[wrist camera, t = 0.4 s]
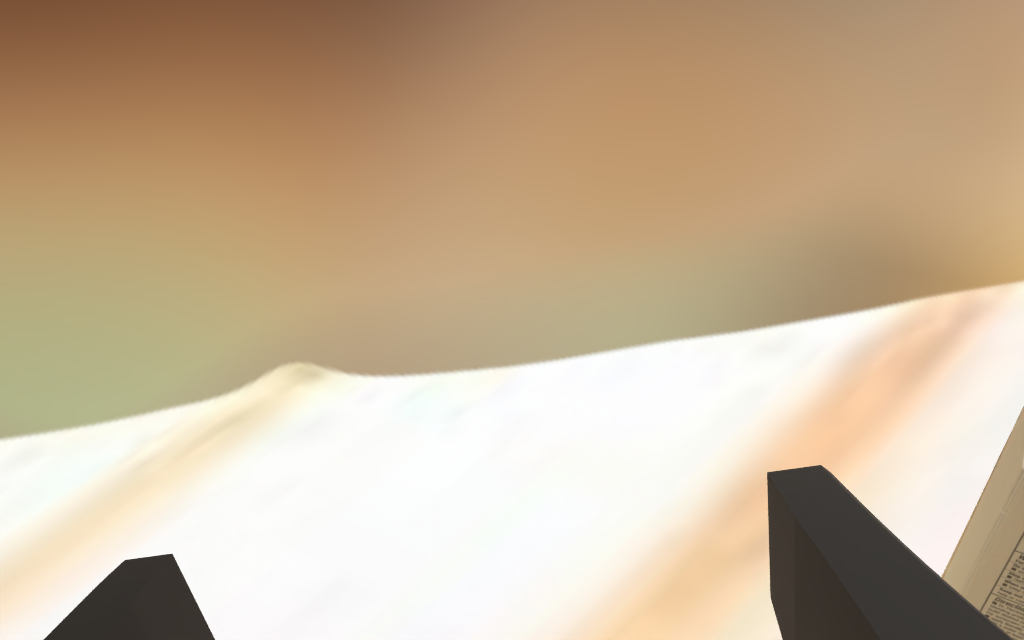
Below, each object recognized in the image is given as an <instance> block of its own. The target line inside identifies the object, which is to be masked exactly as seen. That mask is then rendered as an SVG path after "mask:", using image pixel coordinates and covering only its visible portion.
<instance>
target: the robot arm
mask: <svg viewBox="0 0 1024 640" xmlns="http://www.w3.org/2000/svg"><path fill="white" fill-rule="evenodd" d="M767 480H768V517H769V554H770V591H771V600H772V604H773V607H774V611H775V614H776V618H777V621H778V624H779V628H780V631H781V635H782V638H783V640H1014V639H1013V638H1011V637H1010V636H1009V635H1008V634H1007V633H1005V632H1004V631H1003V630H1002V629H1001V628H999V627H998V626H997V625H996V624H995V623H993V622H992V621H991V620H990V619H989V618H987V617H986V616H985V615H984V614H983V613H981V612H980V611H979V610H978V609H977V608H976V607H974V606H973V605H972V604H971V603H970V602H969V601H967V600H966V599H965V598H964V597H963V596H962V595H961V594H959V593H958V592H957V591H956V590H955V589H954V588H953V587H951V586H950V585H949V584H948V583H947V582H946V581H945V580H943V579H942V578H941V577H940V576H939V575H938V574H937V573H935V572H934V571H933V570H932V569H931V568H930V567H929V566H927V565H926V564H925V563H924V562H923V561H922V560H921V559H920V558H919V557H918V556H917V555H915V554H914V553H913V552H912V551H911V550H910V549H909V548H908V547H907V546H906V545H905V544H904V543H902V542H901V541H900V540H899V539H898V538H897V537H896V536H895V535H894V534H893V533H892V532H891V531H890V530H889V529H888V528H887V527H885V526H884V525H883V524H882V523H881V522H880V521H879V520H878V519H877V518H876V517H875V516H874V515H873V514H872V513H871V512H870V511H869V510H868V509H867V508H866V507H865V506H864V505H863V504H862V503H861V502H860V501H859V500H858V499H857V498H856V497H855V496H854V495H853V494H852V493H851V492H850V491H849V490H848V489H847V488H846V487H845V486H844V485H843V484H842V483H841V482H840V481H839V480H838V479H837V478H836V477H835V476H834V475H833V474H832V473H831V472H829V471H828V470H827V469H825V468H824V467H823V466H821V465H818V466H811V467H804V468H796V469H789V470H782V471H774V472H767ZM44 640H215V639H214V637H213V635H212V633H211V631H210V629H209V627H208V625H207V623H206V621H205V619H204V617H203V615H202V613H201V611H200V609H199V607H198V605H197V603H196V601H195V599H194V597H193V595H192V593H191V591H190V589H189V586H188V584H187V582H186V580H185V578H184V576H183V574H182V572H181V570H180V568H179V566H178V564H177V562H176V560H175V558H174V556H173V554H167V555H159V556H152V557H145V558H137V559H130V560H125V561H124V562H122V563H121V564H120V565H119V566H118V567H117V568H116V569H115V570H114V571H113V572H111V573H110V574H109V575H108V576H107V577H106V578H105V579H104V580H103V581H102V582H101V583H100V584H99V585H98V586H97V587H96V588H95V589H94V590H93V591H92V592H91V593H90V594H89V595H88V596H87V597H86V598H85V599H84V600H83V601H82V602H81V603H80V604H79V605H78V606H77V607H76V608H75V609H74V610H73V611H72V612H71V613H70V614H69V615H68V616H67V617H66V618H65V619H64V620H63V621H62V622H61V623H60V624H59V625H58V626H57V627H56V628H55V629H54V630H53V631H52V632H51V633H50V634H49V635H48V636H47V637H46V638H45V639H44Z"/></svg>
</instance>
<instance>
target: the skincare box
mask: <svg viewBox="0 0 1024 640" xmlns="http://www.w3.org/2000/svg"><path fill="white" fill-rule="evenodd" d="M941 578H942V579H943V580H945V581H946V582H947V583H948V584H949V585H950V586H951V587H953V588H954V589H955V590H956V591H957V592H958V593H959V594H961V595H962V596H963V597H964V598H965V599H966V600H967V601H969V602H970V603H971V604H972V605H973V606H974V607H976V608H977V609H978V610H979V611H980V612H981V613H983V614H984V615H985V616H986V617H987V618H989V619H990V620H991V621H992V622H993V623H995V624H996V625H997V626H998V627H999V628H1001V629H1002V630H1003V631H1004V632H1005V633H1007V634H1008V635H1009V636H1010V637H1011V638H1013V639H1014V640H1024V407H1023V409H1022V411H1021V413H1020V415H1019V417H1018V419H1017V421H1016V424H1015V426H1014V428H1013V430H1012V432H1011V434H1010V436H1009V438H1008V440H1007V442H1006V444H1005V446H1004V448H1003V450H1002V452H1001V454H1000V456H999V458H998V461H997V463H996V465H995V467H994V469H993V471H992V473H991V476H990V478H989V480H988V482H987V484H986V486H985V488H984V490H983V492H982V494H981V497H980V499H979V501H978V503H977V505H976V507H975V509H974V511H973V513H972V515H971V517H970V520H969V522H968V524H967V526H966V528H965V530H964V532H963V534H962V536H961V538H960V540H959V542H958V544H957V546H956V548H955V550H954V552H953V555H952V557H951V559H950V561H949V563H948V565H947V567H946V569H945V571H944V573H943V575H942V577H941Z"/></svg>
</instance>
